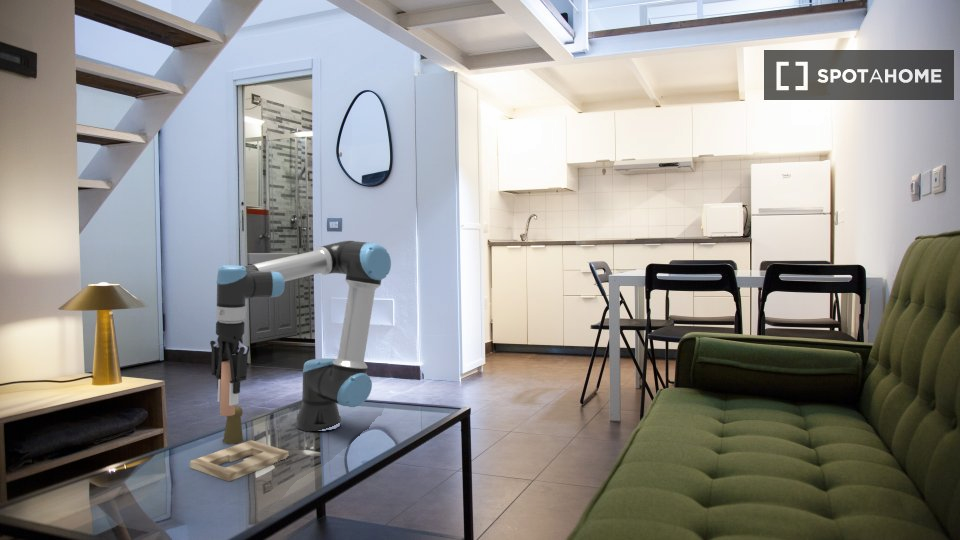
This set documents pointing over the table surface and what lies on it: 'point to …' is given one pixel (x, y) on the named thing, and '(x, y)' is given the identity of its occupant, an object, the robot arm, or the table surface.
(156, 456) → the table surface
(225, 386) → the peg
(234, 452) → the keyhole board
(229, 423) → the cork
